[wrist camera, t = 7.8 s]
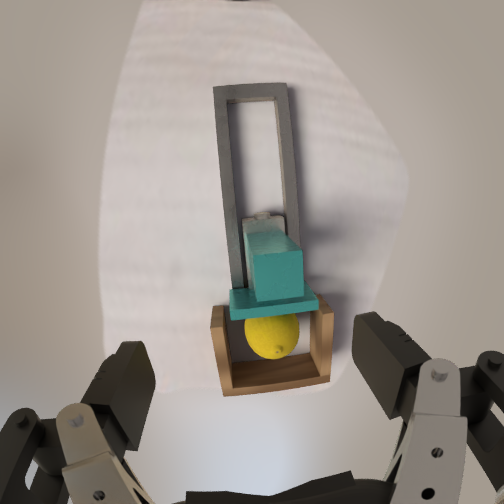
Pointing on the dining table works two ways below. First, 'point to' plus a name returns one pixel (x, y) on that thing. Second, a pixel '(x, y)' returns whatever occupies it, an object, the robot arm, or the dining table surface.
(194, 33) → the dining table surface
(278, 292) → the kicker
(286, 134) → the rails
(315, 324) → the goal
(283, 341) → the lemon
